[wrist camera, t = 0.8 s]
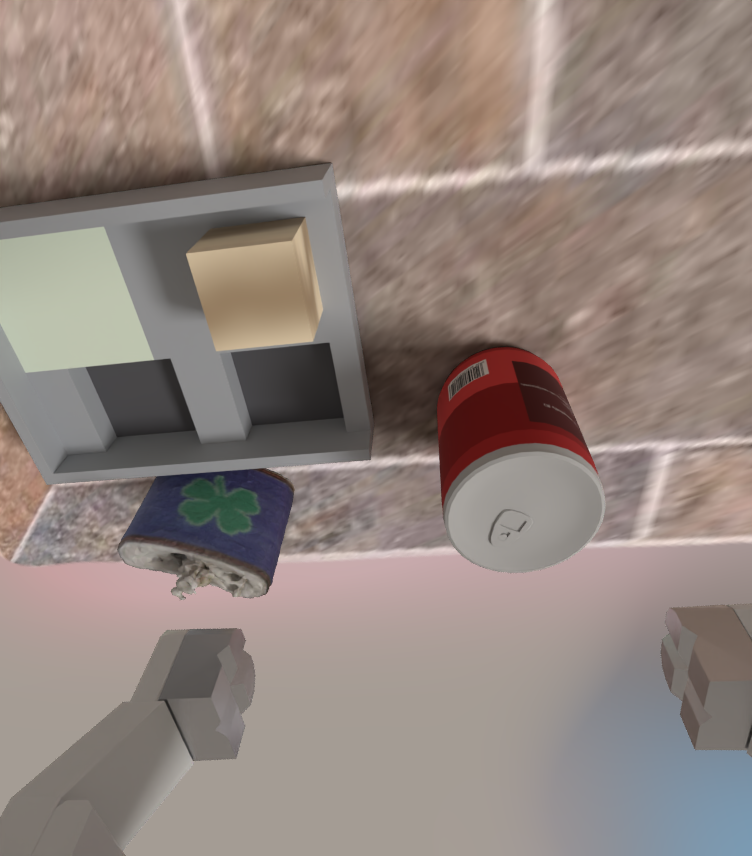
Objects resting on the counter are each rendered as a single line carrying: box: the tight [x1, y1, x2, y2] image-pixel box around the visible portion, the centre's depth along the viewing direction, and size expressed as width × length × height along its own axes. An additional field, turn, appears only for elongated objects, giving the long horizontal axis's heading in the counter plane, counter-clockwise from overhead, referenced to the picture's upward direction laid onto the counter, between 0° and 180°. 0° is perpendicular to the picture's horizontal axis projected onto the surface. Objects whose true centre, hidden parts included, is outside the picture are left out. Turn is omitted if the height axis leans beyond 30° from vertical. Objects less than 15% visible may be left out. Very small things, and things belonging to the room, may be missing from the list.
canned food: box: [437, 347, 605, 573], centre depth 33 cm, size 8×8×11 cm
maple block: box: [186, 217, 323, 351], centre depth 30 cm, size 5×5×4 cm
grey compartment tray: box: [0, 163, 374, 485], centre depth 35 cm, size 16×21×4 cm
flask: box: [117, 468, 294, 600], centre depth 38 cm, size 9×3×11 cm, turn 71°
